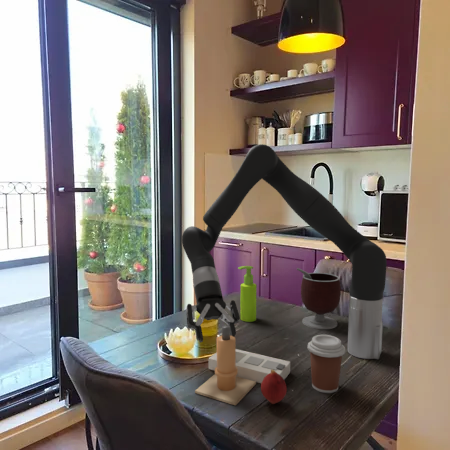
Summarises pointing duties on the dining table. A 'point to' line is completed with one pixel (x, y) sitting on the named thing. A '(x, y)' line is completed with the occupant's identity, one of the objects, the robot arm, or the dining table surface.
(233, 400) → the cork mat
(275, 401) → the onion
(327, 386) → the coffee cup
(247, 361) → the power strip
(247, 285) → the soap dispenser
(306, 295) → the mate gourd
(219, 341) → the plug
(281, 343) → the dining table surface
